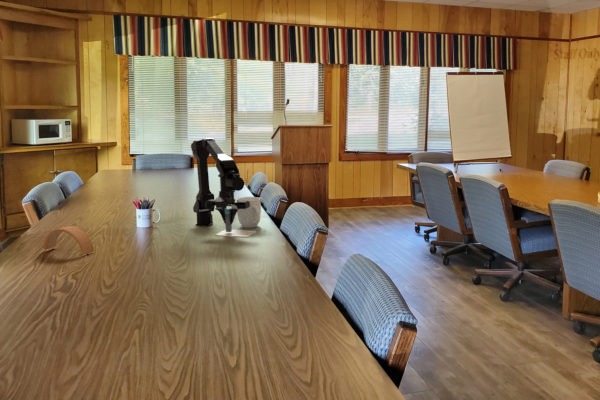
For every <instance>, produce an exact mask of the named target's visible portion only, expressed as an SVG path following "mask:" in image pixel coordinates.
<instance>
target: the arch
mask: <svg viewBox="0 0 600 400" xmlns="http://www.w3.org/2000/svg"><path fill="white" fill-rule="evenodd" d="M61 233H66V234H68V235H69V236H71V237H72V238H73V239H74V240H75V241H76V243H77V244H78V246H79V249H80V252H81V256H82V255H84V254H87V253H90V252H93V251H94V252H95V249H94V245H93V242H92V240H91V239H90V237H89V235H88V234H87V233H86V232H85V230H83V229H81V228H79V227H78V226H74V225H67V226H64V227H60V228H57V229H54V230H51V231H50V232H49V233H47V235H46V237H45V240H44V242H43V246H42V247H43V248H42V250H43V249H49V248H52V247H55V246H56V247H57V241H58V238H59V236H60V234H61Z"/></svg>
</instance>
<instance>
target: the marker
mask: <svg viewBox="0 0 600 400" xmlns="http://www.w3.org/2000/svg"><path fill="white" fill-rule="evenodd" d="M229 209H231V208H229V207H228V208H227V207H226V209H225V223H224V224H225V229H226V232H232V230H233V228H232V224H231V222H230V214H231V213H230V210H229Z"/></svg>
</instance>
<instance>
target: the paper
mask: <svg viewBox="0 0 600 400" xmlns="http://www.w3.org/2000/svg"><path fill="white" fill-rule="evenodd" d="M257 232H258V231H257V230H248V229H247V230H246V229H244V230H243V229H232V232H226V228H225V229H224V230H221V231H220V232H217V233H216V234H215V237H216V236H217V237H231V238H232V237H233V238H250V237H251V236H252V235H254V234H256V233H257Z"/></svg>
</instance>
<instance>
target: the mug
mask: <svg viewBox="0 0 600 400" xmlns="http://www.w3.org/2000/svg"><path fill="white" fill-rule="evenodd" d="M241 200H245V201H249V202H250V207H248V208H246V209H238V211H237V213H236V215H237V218H238V221H239V224H240V226H241V227H242V228H246V229H253V228H257V226H258V225H259V223H260V221H261V211H262V207H261V204H262V203H261V202H262V201H261V197H256V196H243V197H242V196H241V197H237V198H236V202H239V201H241Z"/></svg>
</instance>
